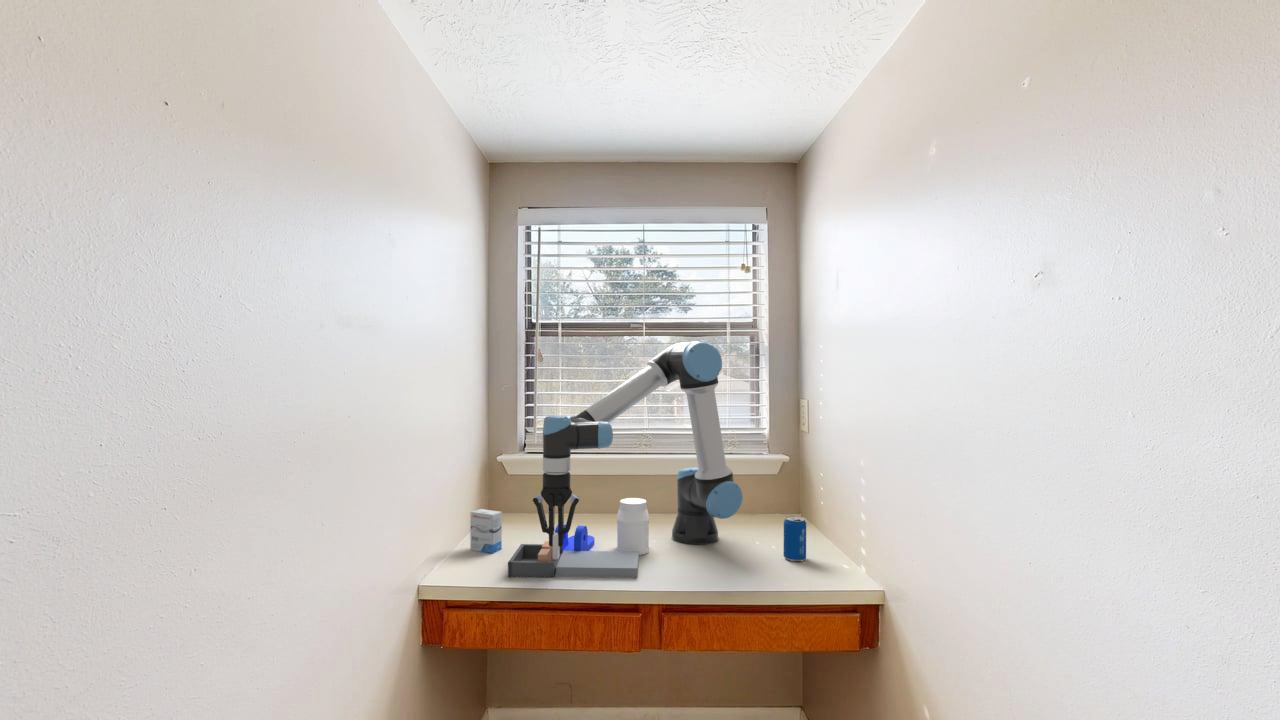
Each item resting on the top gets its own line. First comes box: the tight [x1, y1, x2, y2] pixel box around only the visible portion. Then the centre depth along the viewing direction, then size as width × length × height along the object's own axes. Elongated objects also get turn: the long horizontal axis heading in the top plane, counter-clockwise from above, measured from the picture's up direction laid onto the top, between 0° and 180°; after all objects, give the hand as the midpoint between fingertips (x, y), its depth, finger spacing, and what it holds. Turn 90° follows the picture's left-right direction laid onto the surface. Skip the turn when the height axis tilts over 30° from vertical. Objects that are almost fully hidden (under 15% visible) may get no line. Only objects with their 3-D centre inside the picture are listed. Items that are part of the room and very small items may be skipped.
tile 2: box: [538, 549, 550, 562], centre depth 167 cm, size 5×5×2 cm
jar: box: [616, 497, 650, 556], centre depth 187 cm, size 12×10×15 cm
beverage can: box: [783, 515, 807, 562], centre depth 179 cm, size 6×6×12 cm
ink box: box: [469, 508, 503, 554], centre depth 186 cm, size 8×5×12 cm, turn 65°
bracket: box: [554, 524, 595, 551], centre depth 187 cm, size 18×8×9 cm, turn 168°
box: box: [507, 543, 563, 579], centre depth 170 cm, size 12×16×4 cm
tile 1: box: [542, 540, 553, 562], centre depth 174 cm, size 5×5×2 cm
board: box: [555, 550, 640, 578], centre depth 170 cm, size 22×14×2 cm, turn 89°
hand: (556, 557), depth 167 cm, fingers closed
